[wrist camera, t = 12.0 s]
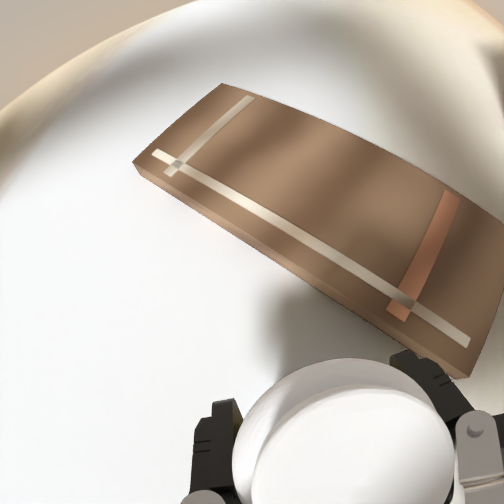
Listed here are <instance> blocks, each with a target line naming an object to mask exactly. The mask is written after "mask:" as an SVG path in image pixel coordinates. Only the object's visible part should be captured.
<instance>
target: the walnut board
mask: <svg viewBox="0 0 504 504" xmlns="http://www.w3.org/2000/svg"><path fill="white" fill-rule="evenodd" d="M132 163H133V164H134V166H135V167H136V169H137V171H138V172H139V174H140V175H141V176H143V177H144V178H146V179H147V180H149V181H150V182H152V183H154V184H155V185H157V186H158V187H160V188H161V189H163V190H165V191H166V192H168V193H169V194H171V195H172V196H174V197H175V198H177V199H179V200H180V201H182V202H183V203H185V204H186V205H188V206H189V207H191V208H193V209H194V210H196V211H197V212H199V213H200V214H202V215H203V216H205V217H207V218H208V219H210V220H211V221H213V222H214V223H216V224H217V225H219V226H221V227H222V228H224V229H225V230H227V231H228V232H230V233H231V234H233V235H235V236H236V237H238V238H239V239H241V240H242V241H244V242H245V243H247V244H248V245H250V246H252V247H253V248H255V249H256V250H258V251H259V252H261V253H262V254H264V255H265V256H267V257H269V258H270V259H272V260H273V261H275V262H276V263H278V264H279V265H281V266H282V267H284V268H286V269H287V270H289V271H290V272H292V273H293V274H295V275H296V276H298V277H299V278H301V279H303V280H304V281H306V282H307V283H309V284H310V285H312V286H313V287H315V288H316V289H318V290H320V291H321V292H323V293H324V294H326V295H327V296H329V297H330V298H332V299H333V300H335V301H336V302H338V303H340V304H341V305H343V306H344V307H346V308H347V309H349V310H350V311H352V312H353V313H355V314H356V315H358V316H359V317H361V318H363V319H364V320H366V321H367V322H369V323H370V324H372V325H373V326H375V327H376V328H378V329H379V330H381V331H382V332H384V333H386V334H387V335H389V336H390V337H392V338H393V339H395V340H396V341H398V342H399V343H401V344H402V345H404V346H405V347H407V348H408V349H411V350H412V351H413V352H415V353H416V354H418V355H419V356H421V357H422V358H425V357H427V358H429V359H431V360H432V361H434V362H436V363H438V364H439V366H440V367H441V368H442V369H443V370H444V372H445V373H447V374H448V375H450V376H451V377H453V378H454V379H462V378H468V377H470V374H471V372H472V370H473V368H474V366H475V364H476V361H477V359H478V357H479V355H480V352H481V350H482V348H483V345H484V343H485V340H486V338H487V335H488V333H489V330H490V328H491V325H492V322H493V320H494V317H495V314H496V311H497V308H498V305H499V302H500V299H501V296H502V293H503V290H504V224H503V223H501V222H500V221H499V220H497V219H496V218H495V217H493V216H492V215H490V214H489V213H488V212H486V211H485V210H483V209H482V208H480V207H479V206H478V205H476V204H475V203H473V202H472V201H470V200H469V199H467V198H466V197H464V196H463V195H461V194H460V193H458V192H456V191H455V190H453V189H452V188H450V187H449V186H447V185H445V184H444V183H442V182H440V181H439V180H437V179H436V178H434V177H432V176H431V175H429V174H427V173H425V172H424V171H422V170H420V169H419V168H417V167H415V166H413V165H411V164H410V163H408V162H406V161H404V160H402V159H401V158H399V157H397V156H395V155H393V154H391V153H389V152H388V151H386V150H384V149H382V148H380V147H378V146H376V145H374V144H372V143H370V142H368V141H366V140H364V139H362V138H360V137H358V136H356V135H354V134H351V133H349V132H347V131H345V130H343V129H341V128H339V127H336V126H334V125H332V124H330V123H327V122H325V121H323V120H320V119H318V118H316V117H313V116H311V115H309V114H306V113H304V112H301V111H299V110H296V109H294V108H291V107H289V106H286V105H284V104H281V103H278V102H276V101H273V100H270V99H268V98H265V97H262V96H259V95H256V94H253V93H251V92H248V91H245V90H242V89H239V88H236V87H233V86H229V85H226V84H223V83H221V84H220V85H219V86H217V87H216V88H215V89H214V90H212V91H211V92H210V93H209V94H207V95H206V96H205V97H204V98H202V99H201V100H200V101H199V102H197V103H196V104H195V105H194V106H193V107H191V108H190V109H189V110H188V111H187V112H186V113H184V114H183V115H182V116H181V117H180V118H179V119H177V120H176V121H175V122H174V123H173V124H172V125H171V126H170V127H168V128H167V129H166V130H165V131H164V132H163V133H162V134H161V135H160V136H158V137H157V138H156V139H155V140H154V141H153V142H152V143H151V144H150V145H149V146H148V147H147V148H146V149H145V150H144V151H142V152H141V153H140V154H139V155H138V156H137V157H136V158H135V159H134V160H133V161H132Z"/></svg>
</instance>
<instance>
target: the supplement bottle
mask: <svg viewBox="0 0 504 504" xmlns="http://www.w3.org/2000/svg"><path fill="white" fill-rule="evenodd" d="M454 468H455V453H454V447H453V441H452V438H451V435H450V432H449V430H448V428H447V426H446V424H445V423H444V421H443V420H442V418H441V417H440V416H439V414H438V413H437V411H436V409H435V407H434V405H433V403H432V402H431V400H430V398H429V397H428V395H427V394H426V393H425V391H424V390H423V389H422V388H421V387H420V386H419V385H418V384H417V383H416V382H415V381H414V380H413V379H412V378H410V377H409V376H408V375H406V374H405V373H403V372H401V371H399V370H398V369H396V368H393V367H391V366H389V365H387V364H384V363H381V362H377V361H373V360H367V359H358V358H340V359H331V360H326V361H322V362H318V363H315V364H312V365H308V366H306V367H304V368H301V369H299V370H297V371H295V372H293V373H291V374H289V375H288V376H286V377H284V378H283V379H281V380H280V381H278V382H277V383H275V384H274V385H273V386H272V387H270V388H269V389H268V390H267V391H266V392H265V393H264V394H263V395H262V396H261V397H260V398H259V399H258V400H257V402H256V403H255V404H254V405H253V406H252V408H251V409H250V410H249V412H248V414H247V415H246V417H245V418H244V420H243V423H242V425H241V427H240V429H239V431H238V434H237V437H236V440H235V444H234V448H233V455H232V473H233V480H234V484H235V488H236V491H237V494H238V497H239V499H240V501H241V503H242V504H444V502H445V500H446V498H447V496H448V493H449V491H450V488H451V484H452V480H453V476H454Z"/></svg>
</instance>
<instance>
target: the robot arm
mask: <svg viewBox="0 0 504 504" xmlns="http://www.w3.org/2000/svg"><path fill="white" fill-rule="evenodd" d="M390 366H391V367H393V368H396V369H398V370H399V371H401V372H403V373H405V374H406V375H408V376H409V377H410V378H412V379H413V380H414V381H415V382H416V383H417V384H418V385H419V386H420V387H421V388H422V389H423V390H424V391H425V393H426V394H427V395H428V397H429V398H430V400H431V402H432V403H433V405H434V407H435V409H436V411H437V413H438V414H439V416H440V417H441V418H442V420H443V421H444V423H445V424H446V426H447V428H448V430H449V432H450V435H451V438H452V441H453V447H454V453H455V468H454V476H453V480H452V484H451V488H450V491H449V493H448V496H447V498H446V500H445V502H444V504H504V413H503V414H499V415H495V416H491V415H490V414H489V413H487V412H484V411H480V410H475V409H474V408H473V407H472V406H471V405H470V403H469V402H468V401H467V399H466V398H465V397H464V396H463V394H462V393H461V392H460V390H459V389H458V388H457V387H456V385H455V384H454V383H453V382H451V379H450V378H449V377H448V375H447V374H445V372H444V370H443V369H442V368H441V367H440V366H439V364H438V363H436V362H434V361H432V360H431V359H429V358H427V357H425V358H423V359H420V360H419V358H418V357H417V356H416V355H415V353H414V352H413V351H412V350H411V349H408V350H405V351H403V352H400V353H397V354H395V355H392V356H391V357H390ZM242 423H243V418H242V415H241V413H240V410H239V408H238V406H237V403H236V401H235V399H234V398H232V399H227V400H221V401H216V402H213V403H212V417H206V418H201V420H200V421H199V423H198V425H197V427H196V428H195V432H194V444H193V457H192V470H191V484H190V492H189V495H188V496H186V497H185V498H184V499H183V500H182V502H181V504H242V503H241V501H240V499H239V497H238V494H237V491H236V488H235V484H234V480H233V473H232V455H233V448H234V444H235V440H236V437H237V434H238V431H239V429H240V427H241V425H242Z"/></svg>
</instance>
